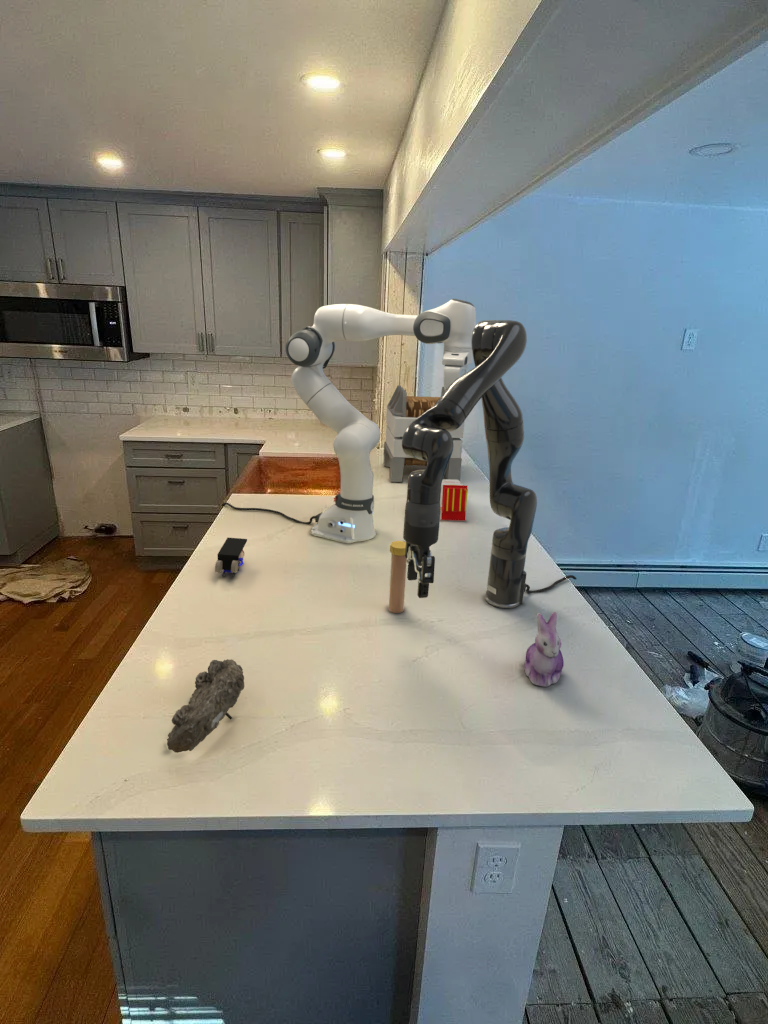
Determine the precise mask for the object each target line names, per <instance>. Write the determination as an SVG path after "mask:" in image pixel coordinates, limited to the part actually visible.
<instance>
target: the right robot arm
mask: <svg viewBox="0 0 768 1024" xmlns="http://www.w3.org/2000/svg"><path fill="white" fill-rule="evenodd" d="M471 343H472V354H473V364H474V367H473V368H471V369H470V370H467V373H465V374H464V375H462V376H460V377H459V378H457V379H456V380H455V381H454V382H452V383H451V384H450V385H449V386H448V388H447V389H446V390H445V391H444V393H443V394H442V395H441V394H440V396H439V397H440V398H439V399H438V401H437V402H436V403H435V405H434V406H433V407H432V408H430V409H429V410H427V411H426V412H425V413H423V414H422V415H421V416H419V417H418V418H417V419H416V420H414V421H413V422H412V423H411V424H410V425H409V426H408V427H407V429H406V430H405V432H404V435H403V437H402V449H403V451H404V453H405V454H406V455H408V456H410V457H412V458H416V459H420V460H424V461H427V466H425V469H415V470H413V471H411V472H410V473H409V475H408V479H407V488H406V491H407V492H406V501H405V506H404V517H403V533H402V535H403V536H402V539H403V540H404V542H406V548H405V558H407V570H406V579H407V580H408V581H416V580H417V594H416V595H417V597H418V598H419V599H426V598H428V597H429V589H430V584H434V582H435V565H436V557H435V555H432V551H431V550H430V549H431V548H430V547H432V546H433V545H435V544H437V543H438V541H439V535H440V533H439V532H440V523H441V506H440V497H441V484H442V480H443V479H444V474H445V471H446V468H447V465H448V463H449V460H450V458H451V455H452V452H453V439H452V436H451V434H450V433H449V432H448V431H454V430H457V429H458V428H459V427H460V426H461V425H462V424H463V422H464V423H465V421H466V419H468V416H469V415H470V414H471V412H472V411H473V409H475V406H476V405H477V404H478V403H479V401H480V400H481V405H482V413H483V427H484V435H485V441H486V448H487V459H488V472H489V474H488V475H489V504H490V505H489V506H490V508H491V511H492V512H493V513H494V514H495V515H497V516H499V517H501V518H504V519H507V520H510V521H509V526H507V527H506V526H505V527H500V528H497V529H496V530H494V531H493V534H492V540H491V548H490V557H489V558H490V559H489V566H488V574H487V575H488V576H487V583H486V590H485V597H484V598H485V601H486V602H487V603H488V604H489V605H491V606H492V607H493V606H494V607H496V608H500V609H514V608H516V607H518V606H520V605H523V602H524V594H525V593H526V594H527V593H528V594H536V593H537V594H538V593H543V592H546V591H549V590H552V589H553V588H554V587H556V586H557V585H558V584H561V583H562V582H564V581H566V580H568V579H573V580H577V577H576V575H574V574H569V575H568V574H567V575H566V576H564V577H562V578H560V579H558V580H556V581H554V582H553V583H552V584H551V585H549V586H546V587H544V588H540V589H535V590H531V586H530V585H529V584H528V583H526V580H527V571H525V565H526V558H527V553H528V542H529V540H530V537H531V535H532V531H533V527H534V526H533V525H534V522H535V518H536V517H535V516H536V511H537V506H538V498H537V497H538V496H537V494H536V492H535V490H533V489H532V488H529V487H525V486H523V485H519V484H516V483H514V481H513V478H512V477H513V476H512V464H513V462H514V460H515V458H516V457H517V456H518V454H519V452H520V450H521V448H522V447H523V443H524V441H525V427H524V416H523V412H522V409H521V407H520V405H519V403H518V402H517V399H516V398H515V397H514V395H513V394H512V393H511V391H510V390H509V388H508V387H507V385H506V384H505V382H504V379H503V377H504V376H505V374H507V372H508V371H509V370H511V368H512V367H514V366H515V365H516V364H517V362H519V360H521V358H522V356H523V354H524V353H525V351H526V347H527V343H528V334H527V330H526V327H525V326H524V325H523V323H522V322H520V321H517V320H510V319H487V320H486V319H485V320H480V321H478V322H476V326H475V327H474V330H473V333H472V342H471ZM565 577H566V578H567V579H566V578H565Z"/></svg>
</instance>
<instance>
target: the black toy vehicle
mask: <svg viewBox="0 0 768 1024" xmlns="http://www.w3.org/2000/svg"><path fill="white" fill-rule="evenodd" d="M247 542H248V538H240V537H226V539H225V541H224V543H223V544H222V546H221V547H220V549H219V551H218V552H217V560H216V562H215V564H214V572H215V573H221V577H222V578H224V577H225V576H226V574H227V573H230V574H231V573H232V574H231V578H234V577H235V575H236V573H237V572H239V571H240V567H242V566H243V565H244V564H245V562H244V558H245V551H244V547H245V546H246V544H247Z"/></svg>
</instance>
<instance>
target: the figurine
mask: <svg viewBox="0 0 768 1024" xmlns="http://www.w3.org/2000/svg"><path fill="white" fill-rule="evenodd" d="M536 623H537V634H536V636H535V637H534V638H535V640H534V643H532V644H530V645H529V647H528V648H527V650H526V652H525V661H524V674H525V675H526V676H527V678H528V679H529V680H530V682H531V684H532V685H536V686H540V687H548V688H549V687H550V686H551V685H554V684H556V683H557V682H558V681H559V679H560V677H561V673H562V671H563V669H564V664H565V663H564V656H563V654H562V651H561V648H562V639H561V637H560V635H559V632H558V629H557V624H558V613H557V612H555V611H554V612H552V613H551V614H550V616H549V619H548V621H546V619H545V617H544V616H543V615H542V614H541V613H537V614H536Z"/></svg>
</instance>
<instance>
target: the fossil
mask: <svg viewBox="0 0 768 1024" xmlns="http://www.w3.org/2000/svg"><path fill="white" fill-rule="evenodd" d="M243 670H244V669H243V667H242V665H240V664H237V662H236V661H235V660H234V659H232V658H231V659H227V658H226V659H224V660H223V661H222V660H217V659H212V660H211V661H210V663H209V665H208V666H207V671H201V672H199V673H198V674H197V675H196V676H195V680H194V684H195V685H194V687H195V689H194V690H193V693H192V694H191V697H190V698H189V700H188V704H184V705H182V706H181V707H180V709H177V710H176V711H175V713H174V715H173V716H172V718H171V723H172V724H173V727H172V730H171V731H170V732H168V734H167V738H166V741H167V742H166V745H167V749H168V750H169V751H173V752H174V753H176V754H178V753H182V752H188V751H189V752H192V751H193V750H195V748H196V747H197V746H199V744H200V743H201V742H203V741H204V740H205V739H206V738H207V737H208V736H209V735H210V734H211V733H212V732H214V730H215V729H217V727H218V726H219V724H220V722H221V721H222V720H223V719H224V718H225V716H226V717H227V719H229V720H233V717H232V715H230V714H229V710H230V709H231V708H234V706H235V704H236V703H237V702H238V699H239V697H240V695H241V693H242V691H243V690H245V689H244V688H245V675H244V671H243Z"/></svg>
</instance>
